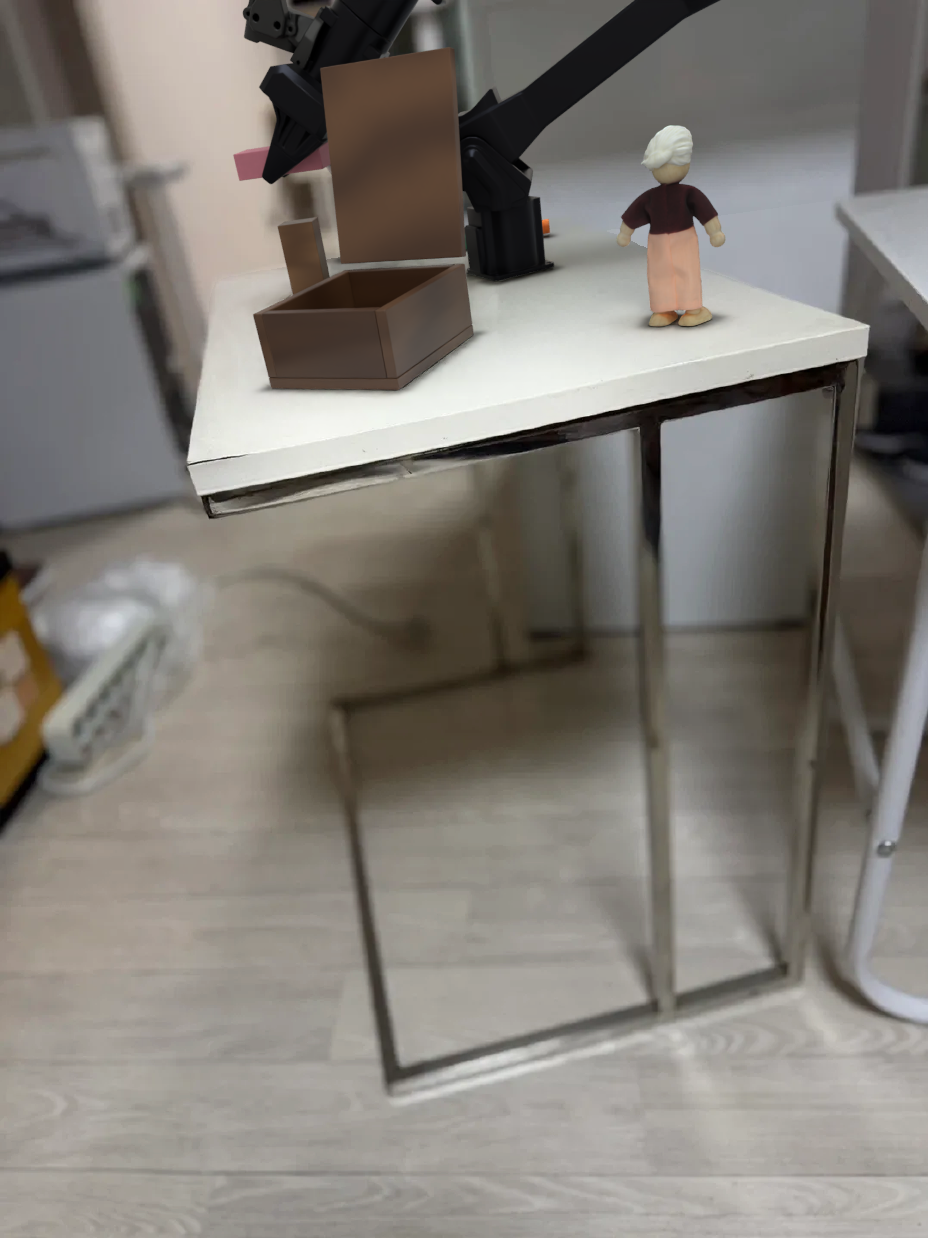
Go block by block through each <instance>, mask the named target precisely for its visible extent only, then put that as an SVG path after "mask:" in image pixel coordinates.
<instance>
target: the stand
mask: <svg viewBox="0 0 928 1238" xmlns="http://www.w3.org/2000/svg"><path fill="white" fill-rule="evenodd" d="M277 231H278V235H279V239H280V244H281V249H282V253H283V257H284V262H285V267H286V270H287V275H288V279H289V283H290V284H289V285H290V289H291V291H292V292H291V293H292V295H294V294H296V293H298V292H300V291H302V290H304V289H306V288H308V287H311V286H313V285H315V284H317V283H319V282H321V281H323V280H325V279H327V278H329V277H331V276H330V270H329V267H328V265H329V264H328V261H327V257H326V256H327V255H326V252H325V247H324V241H323V236H322V232H321V226H320V221H319V217H318V216H314V217H309V218H300V219H293V220H286V221H283V222H281V223H280V224H279V225H277Z"/></svg>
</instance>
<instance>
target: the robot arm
mask: <svg viewBox="0 0 928 1238" xmlns="http://www.w3.org/2000/svg"><path fill="white" fill-rule="evenodd" d="M419 1H420V0H333V2H332V4H331V5H325V6H321V7H320V8H319V9H318V11H317V12H316V14H315V15H314V16H313V15H312V14H308V13H306V12H303V11H300V10H298V9H295V8H292V7H289V6H288V3H287V0H248V4H247V6H246V7H244V8H243V10H242V16H243V19H244V20H245V27H244V34H243V38H244V39H245V40H247V41H250V42H252V43H254V44H258V43H263V44H265V45H268V46H271V47H274V48H277V49H279V50H282V51H285V52H288V53H291V54H292V55H291V57H290V59H289V61H290V62H291V63H282V64H278V65H276V64H275V65H270V66H269V68H268V70H267V71H266V73H265V75H264V77H263V79H262V81H261V83H260V85H259V86H258V88H259V89H260V91H261V92H262V93H263V94H264V95H265V96H266V97H268V100H269V101H270V102H271V104H272V107H273V108H272V109H273V111H274V114H275V124H274V129H273V132H272V137H271V140H270V143H269V146H270V148H269V151H268V155H267V158H266V162H265V166H264V169H263V173H262V178H261V179H263V181H265V182H266V183H268V184H269V185H273V184H275V183H276V182H277V181H279V180H280V179H281V178H287V177H289V175H290V174H286V173H288V172H289V171H290V170H292V169H293V168H294V167H295V166H297V165H298V164H299V163H301V162H302V161H303V160H304V159H306V158H307V157H308V156H310V155H311V154H312V153H314V152H315V151H316V150H318V149H319V148H320V147H321V146H323V145H324V144H325V143H327V142H328V137H327V128H326V118H325V109H324V99H323V90H322V80H321V71H320V68H324V67H330V66H336V65H342V64H348V63H354V62H361V61H367V60H373V59H379V58H385V57H390V55H391V53H390V52H389V50H391V48H392V45H393V44H394V42H395V40H396V39H397V37H398V35H399V34H400V32H401V30H402V28H403V27H404V25H405V24H406V22H407V20H408V19H409V17H410V16H411V14H412V12H413V11H414V9H415V8H416V6H417V4H418V3H419ZM430 1H431V2H432V3H433V4H434V5H436V6H440V7H444V6H445V5H446V4H447V0H430ZM720 1H721V0H631V1H630V2H628V3H627V4H626V5H625V6H624V7H622V8H621V9H620V10H619V11H618V12H616V13H615V14H613V16H611V17H610V18H609V19H608V20H607V21H605V22H603V24H602V25H600V26H599V27H598V28H597V29H595V30H594V31H593V32H591V33H590V34H589V35H588V36H586V37H585V38H584V39H583V40H581V42H579V43H578V44H577V45H575V46H573V48H572V49H570V50H569V51H568V52H567V53H566V54H564V55H563V56H562V57H561V58H559V59H558V60H556V62H555V63H553V64H552V65H551V66H549V67H548V68H547V69H546V70H544V71H543V72H542V73H540V74H539V75H538V76H537V77H536V78H535V79H533V80H532V81H531V82H530V83H529V84H527V85H526V86H524V87H523V88H521V89H520V90H517V91H515V92H514V93H511V94H509V95H508V96H506V97H504V98H501V95H500V93H499V91H498V88H497V86H496V85H492V87H490V88H489V89H488V90H487V91H486V92H485V94H483V96H482V97H481V98H480V99H479V101H478V102H477V103H476V104H475V105H474V106H473V107H471V108H469V109H468V110H464V111H461V112H458V121H459V139H460V156H461V174H462V191H463V192H465V194H466V196H467V197H468V200H469V202H470V204H471V206H468V207H466V216H467V225H464V227H465V238H466V246H467V249H466V255H467V260H468V262H467V263H468V267H467V268H466V274H468V275H471V276H475V277H478V278H482V279H484V280H488V281H492V282H500V281H505V280H508V279H512V278H517V277H520V276H521V277H522V276H524V275H528V274H529V275H530V274H532V273H536V272H541V271H545V270H549V269H553V268H555V262H554V261H553V260H552V261H551V260H548V259H546V250H545V239H544V234H543V226H542V220H543V216H542V214H543V213H542V203H541V197H540V196H535V195H530V192H531V187H532V182H533V176H534V170H533V168H532V167H531V166H530V165H529V164H528V163H527V162H525V161H524V160H523V159H522V158H521V156H522V155H524V153H525V152H526V151H527V149H529V147H530V146H531V145H532V144H533V143H534V142H535V140H536V139H537V138H538V137H539V136H540V135H541V133H542V132H543V131H544V130H545V129H546V128H547V127H548V126H550V124H552V123H554V121H556V120H557V119H558V118H559V117H561V116H562V115H564V114H565V113H566V112H567V111H568V110H569V109H571V108H572V107H573V106H575V105H576V104H577V103H579V102H580V101H582V100H583V99H584V98H585V97H586V96H588V95H589V94H590V93H592V92H593V91H594V90H596V89H597V88H598V87H599V86H601V85H602V84H603V83H604V82H605V81H607V80H608V79H610V78H611V77H612V76H613V75H614V74H616V73H617V72H618V71H620V70H621V69H622V68H624V67H625V66H626V65H628V64H629V63H630V62H631V61H632V60H634V59H635V58H637V56H639V55H640V54H641V53H643V52H644V51H645V50H647V49H648V48H649V47H650V46H652V45H653V44H654V43H656V42H657V41H658V40H660V39H661V38H662V37H663V36H665V35H667V33H669V31H671V30H672V29H673V28H676V26H677V25H678V24H680V23H681V22H683V21H684V20H685V19H687V18H690V17H691V16H693V15H695V14H696V13H698V12H701V11H702V10H704V9H707V8H708V7H710V6H713V5H714V4H716V3H718V2H720Z"/></svg>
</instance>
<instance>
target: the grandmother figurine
mask: <svg viewBox="0 0 928 1238" xmlns="http://www.w3.org/2000/svg"><path fill="white" fill-rule="evenodd" d="M692 138H693V135H692V134H691V130H689V129H687V128H686V127H685V126H682V125H667V126H665V127H664V128H662V129H661V130H659V131H657V132H656V133H655V135H654V136H653V137H652V138H651V139H650V141H649V143H648V144H647V147H646V150H645V151H644V154H643V159H642V161H641V163H640V166H644V167H645V168H646V169H648V170H649V171H650V172H651V174H652V177H653V178H654V180H656V182H658V183H659V184H660V185H657V186H654V187H651V188H649V189H647V190H645V191H644V192H642V193H641V194H640V195H638V196H637V197H636V198H635V199H633V201H632V202H631V203H630V204H629V205H628V207H627V208H626V209H625V210H624V212H623V213H622V214H621V216H620V218H621V220H622V221H621V224H620V227H619V233H618V234H617V236H616V239H615V242H616V244H617V246H619V247H620V248H621V247H622V248H625V247H627V246H629V245H630V243H631V241H632V235H633V234H634V233H635V231H636V229H639V228H642V227H644V226H646V225H649V230H648V235H647V246H646V247H647V248H646V249H647V250H646V251H647V252H646V277H647V280H646V281H647V288H648V298H649V299H648V301H649V311H651V312H653V313H652V314H651V316H650V319H649V322H648V326H650V327H665V326H669V325H670V324H672V323H675V321H676V320H678V323H677V325H679V326H681V327H694V326H697V325H701V324H703V323H705V322H708V321H710V320H711V319H713V315H712V312H711V310H710V309H709V308H707V307H706V306H703V285H702V273H701V256H700V243H699V236H698V232H697V230H696V226H695V222H694V218H695V219H696V220H697V221H698V222H699V224H701V226H702V227H703V228H704V230H705V233H706V235H708V237H709V243H710V245H711V246H712V247H714V248H720V247H722V246H723V245H725V243H726V235H725V233H724V232H723V231H722V224H721V221H720V219H719V213H718V211H717V210H716V208H715V207H714V205H713V203H712V202H711V200H710V199H709V198H708V197H707V195H706V194H705V193H704V192H703V191H702V190H701V189H700V188H697V187H696V186H694V185H691V184H686V183H681V182H682V181H683V180H684V179H685V178H686V177H687V175H688V174H689V171H690V168H691V159H692V154H693V147H694V143H693V139H692ZM677 311H685V312H684V313H683V314H682V315H681V316H680V318H679V315H678V313H677ZM678 318H679V319H678Z"/></svg>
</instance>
